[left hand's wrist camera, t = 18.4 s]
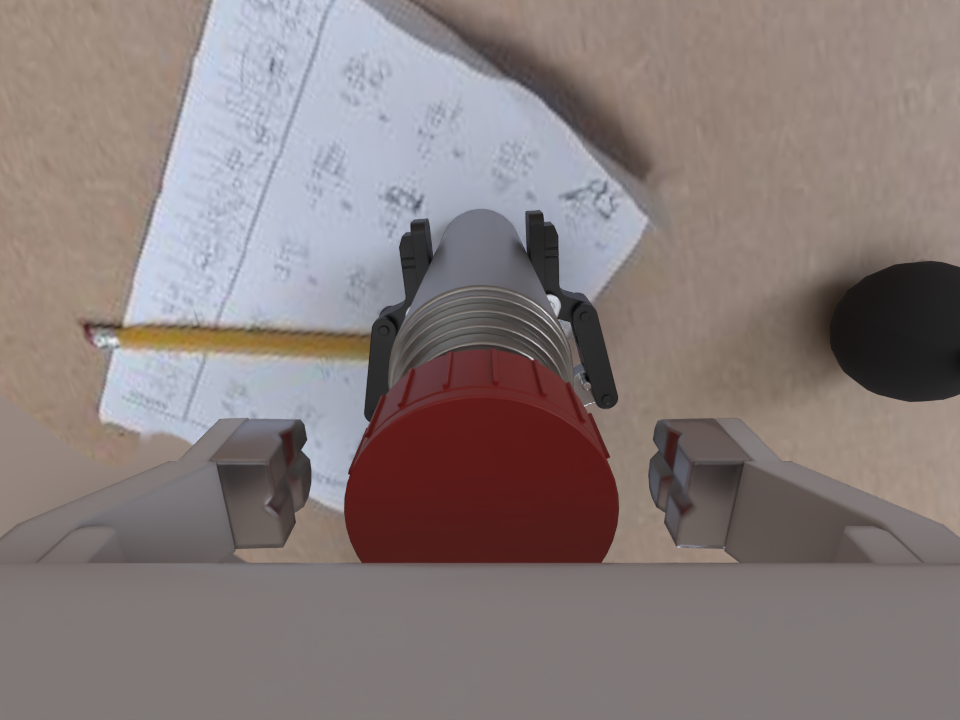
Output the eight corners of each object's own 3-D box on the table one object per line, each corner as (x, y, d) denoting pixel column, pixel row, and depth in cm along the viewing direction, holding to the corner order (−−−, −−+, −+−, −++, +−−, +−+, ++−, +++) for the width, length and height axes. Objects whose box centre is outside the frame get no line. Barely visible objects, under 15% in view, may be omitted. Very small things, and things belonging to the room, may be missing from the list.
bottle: (523, 284, 32) (624, 592, 10) (446, 292, 32) (366, 611, 10) (517, 204, 30) (625, 350, 8) (436, 213, 31) (310, 379, 8)
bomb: (888, 380, 35) (1082, 487, 23) (780, 353, 34) (927, 450, 23) (955, 268, 32) (1212, 329, 21) (839, 236, 31) (1040, 281, 20)
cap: (347, 356, 9) (314, 404, 7) (598, 338, 9) (627, 383, 7) (383, 550, 11) (364, 629, 9) (596, 537, 11) (619, 615, 9)
